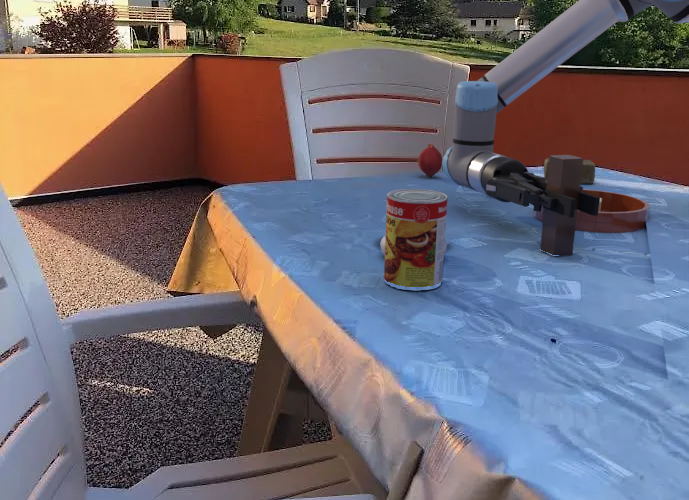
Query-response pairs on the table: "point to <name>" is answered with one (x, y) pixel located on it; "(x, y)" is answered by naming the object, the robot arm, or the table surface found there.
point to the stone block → (587, 171)
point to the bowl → (611, 214)
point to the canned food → (415, 237)
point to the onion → (430, 160)
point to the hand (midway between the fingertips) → (584, 207)
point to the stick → (556, 226)
